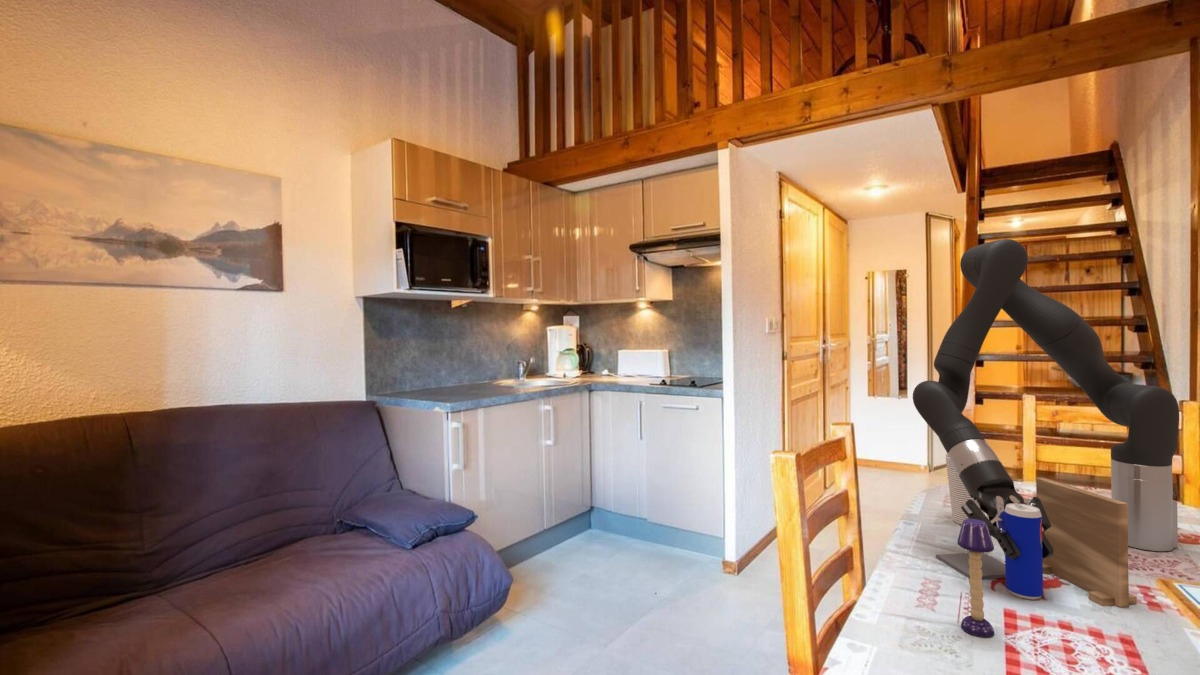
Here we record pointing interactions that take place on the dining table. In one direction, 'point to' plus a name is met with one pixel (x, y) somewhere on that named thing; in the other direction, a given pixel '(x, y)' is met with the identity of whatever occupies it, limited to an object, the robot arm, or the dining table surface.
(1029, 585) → the beverage can
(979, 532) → the toy lamp
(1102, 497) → the oak board
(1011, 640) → the dining table surface
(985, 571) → the felt pad
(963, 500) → the cup
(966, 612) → the dining table surface
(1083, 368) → the robot arm
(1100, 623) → the dining table surface
